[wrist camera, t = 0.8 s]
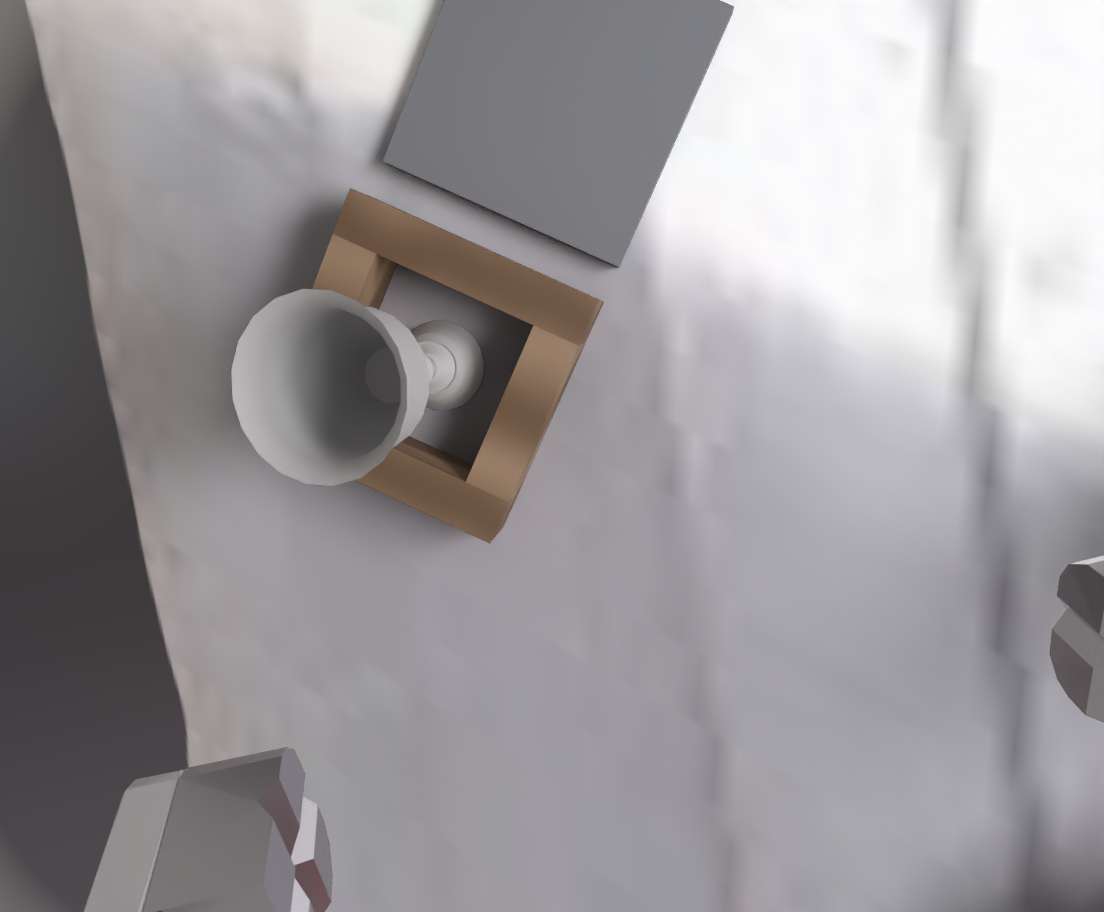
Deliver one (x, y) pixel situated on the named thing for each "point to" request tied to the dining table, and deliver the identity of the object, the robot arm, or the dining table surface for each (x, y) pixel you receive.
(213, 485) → the dining table surface
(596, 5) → the grey mat
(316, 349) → the chalice
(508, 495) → the walnut holder
